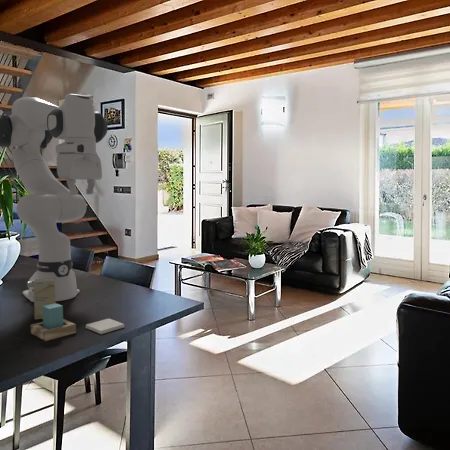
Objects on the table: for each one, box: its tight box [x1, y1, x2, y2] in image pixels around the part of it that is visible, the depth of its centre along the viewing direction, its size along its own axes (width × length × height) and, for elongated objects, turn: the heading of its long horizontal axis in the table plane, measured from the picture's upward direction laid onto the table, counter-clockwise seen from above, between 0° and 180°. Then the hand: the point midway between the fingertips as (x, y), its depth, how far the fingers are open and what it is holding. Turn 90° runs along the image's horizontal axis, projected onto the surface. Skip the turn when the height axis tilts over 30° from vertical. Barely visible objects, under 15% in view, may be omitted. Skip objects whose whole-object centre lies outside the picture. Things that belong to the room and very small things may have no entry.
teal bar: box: [42, 302, 64, 329], centre depth 124 cm, size 4×4×8 cm
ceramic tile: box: [85, 318, 125, 335], centre depth 129 cm, size 8×8×1 cm
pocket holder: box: [30, 318, 77, 342], centre depth 124 cm, size 9×9×2 cm
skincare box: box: [33, 278, 56, 320], centre depth 139 cm, size 6×4×12 cm
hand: (82, 194), depth 132 cm, fingers open, 8 cm apart
